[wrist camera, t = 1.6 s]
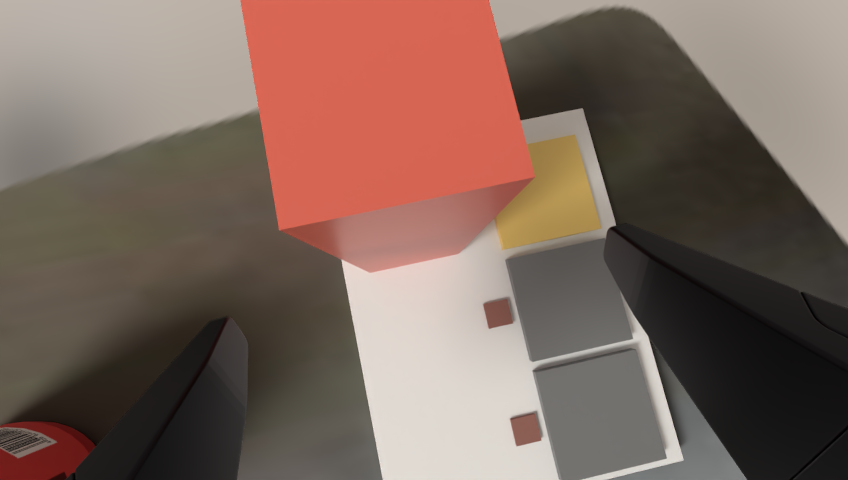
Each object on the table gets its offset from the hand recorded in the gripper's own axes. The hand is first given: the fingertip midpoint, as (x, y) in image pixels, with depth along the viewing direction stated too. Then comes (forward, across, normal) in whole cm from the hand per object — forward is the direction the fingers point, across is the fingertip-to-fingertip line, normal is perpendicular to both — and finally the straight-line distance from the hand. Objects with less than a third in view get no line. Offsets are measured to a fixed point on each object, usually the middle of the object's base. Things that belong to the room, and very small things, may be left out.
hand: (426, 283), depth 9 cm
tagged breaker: (+10, -7, +6) cm, 14 cm away
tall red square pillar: (+10, 0, +5) cm, 11 cm away
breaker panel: (+7, -3, +9) cm, 12 cm away
